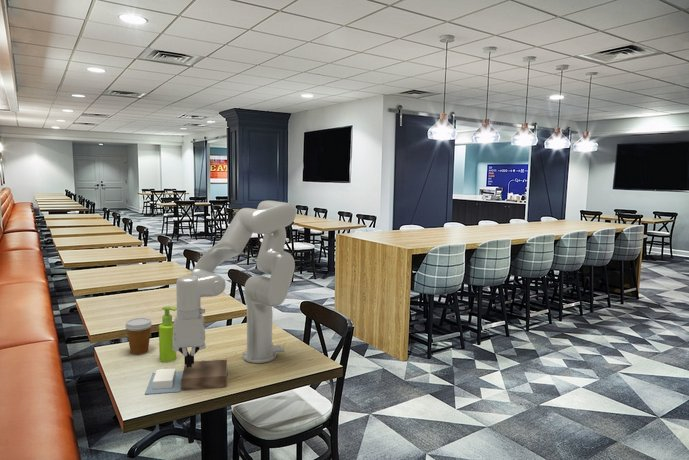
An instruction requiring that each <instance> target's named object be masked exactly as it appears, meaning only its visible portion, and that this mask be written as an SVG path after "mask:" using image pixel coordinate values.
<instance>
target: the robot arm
mask: <svg viewBox="0 0 689 460" xmlns="http://www.w3.org/2000/svg"><path fill="white" fill-rule="evenodd" d="M296 215H297V211H296V209H295V207H294V206H293V205H292V204H290V203H288V202H286V201H285V202H284V201H277V200H263V201H261V202H260V203H258V206H257V208H251V207H243V208H241V209H239V210H238V211H237V212H236V213H235V215H234V217H233V218H232V219H231V222H230V223H229V225H228V227H227V228H226V230H225V232H224V233H223V235H222V237H221V238H220V240H219V241H218V242H217V243H216V244H214V245H213V246H212V247H211V248H209V249H208V250H207V251H206V252H204V254H202V256H201V257H200V258H199V259H198V261H197V262H196V264H195V265H194V267H193V269H192V270H191V273H190V275H183V276H179V277H178V278H177V279H176V281H175V282H176V283H175V285H176V286H175V287H176V289H175V291H176V292H175V293H176V308H177V310H176V316H175V317H174V320H173V323H174V326H173V347H172V350H174V351H176V352H179V353H180V354H182V355H183V357H184V358H183V359H184V363H183V364H184V365H185V364H186V367H187V368H188V367H190V368H191V367H192V364H194V362H195V355H196V354H197V353H198V352H199V351H200V350H205V349H206V347H207V344H206V329H205V328H206V327H205V326H206V325H205V319H204V315H203V314H205V313H206V309H203V308H202V306H201V303H202V302H201V298H205V297H208V298H209V297H212V298H213V297H217V296H219V295H221V294H223V293H224V291H225V289H226V280H225V279H224V277H223V276H221V275H219V274H217V273H214V271H215V270H216V269H217V268H218V266H219V265H220V264H222V263H224V262H225V261H227V260H230V259H232V258H235V257H238V256H240V255H241V254H242V252H243V250H244V249H245V247H246V246H247V244H248V242H249V240H250V239H251V237H252V235H253V234H257V235H263V238H262V240H261V241H262V242H261V245H260V248H259V251H258V255H257V258H256V262H255V265H256V268H257V269H258V271H260V272H263V273H264V274H268V275H270V277H268V276H264V275H256V274H255V275H252V276H250V277H249V278H248V279H247V280H246V282H245V283H244V291H243V292H244V296H245V302H246V303H245V304H246V350H245V351H244V352H243V353H242V359H243V360H244V361H246V362H248V363H254V364H261V363H262V364H264V363H268V362H271V361H273V360H274V359H276V357H277V353H285V346H281V345H280V344H279V345H278V344H277V345H274V344H273V318H274V317H273V314H274V313H273V307H278V306H281V305H282V304H283V303H284V301H285V300H286V299H287V296H288V293H289V290H290V287H291V283H292V280H293V277H294V272H295V269H296V267H295V266H296V263H295V262H296V261H295V259H294V257H293V255H292V254H291V253H290V252H287V251H285V250H284V249H285V245H286V244H285V243H286V241H287V231H286V227H288V226H291V224H293V222H294V221H295V219H296ZM188 348H191V350H190V353H189V351H188Z"/></svg>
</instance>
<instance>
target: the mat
mask: <svg viewBox="0 0 689 460" xmlns="http://www.w3.org/2000/svg"><path fill="white" fill-rule="evenodd" d="M155 374H156V372H152V374H151V376H150V379H149V382H148V385H147V387H146V390H145V392H144V396H146V395H147V396H149V395H157V394H158V395H160V394H172V393H180V392H181V390H182V381H181V379H182V375H183V370H179V371H178V370H177V371H176V376H175V380H174V384H173V387H172V388H160V389H153V379H154V376H155Z"/></svg>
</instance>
